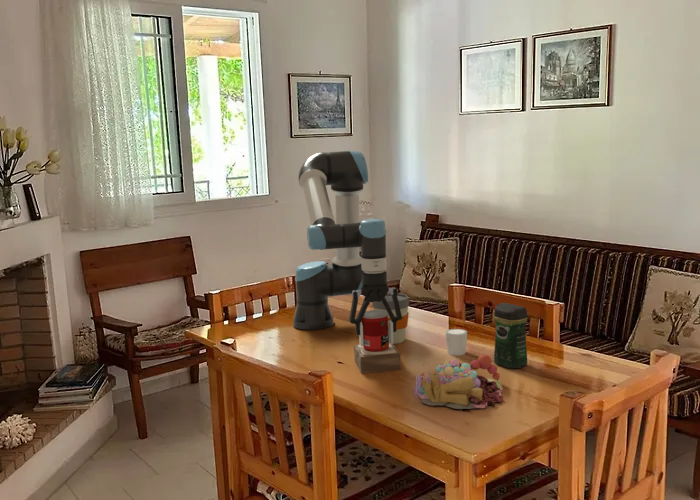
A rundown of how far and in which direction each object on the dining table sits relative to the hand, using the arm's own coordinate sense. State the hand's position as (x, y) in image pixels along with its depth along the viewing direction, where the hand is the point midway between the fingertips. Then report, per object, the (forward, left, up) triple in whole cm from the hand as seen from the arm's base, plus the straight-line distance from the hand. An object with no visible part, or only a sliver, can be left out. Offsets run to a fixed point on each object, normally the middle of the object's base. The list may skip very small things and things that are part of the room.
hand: (376, 343), depth 209 cm
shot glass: (-5, +27, -7) cm, 28 cm away
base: (0, 0, -7) cm, 7 cm away
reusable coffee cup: (-24, +10, -7) cm, 27 cm away
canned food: (0, 0, -2) cm, 2 cm away
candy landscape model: (+28, +17, -7) cm, 33 cm away
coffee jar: (+10, +39, -7) cm, 41 cm away
